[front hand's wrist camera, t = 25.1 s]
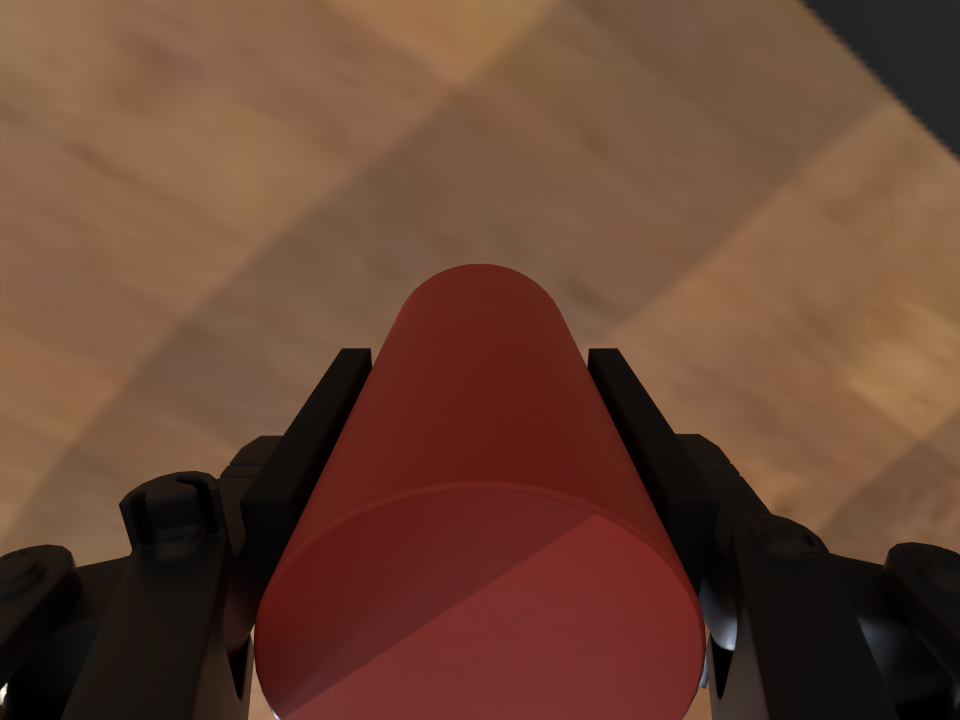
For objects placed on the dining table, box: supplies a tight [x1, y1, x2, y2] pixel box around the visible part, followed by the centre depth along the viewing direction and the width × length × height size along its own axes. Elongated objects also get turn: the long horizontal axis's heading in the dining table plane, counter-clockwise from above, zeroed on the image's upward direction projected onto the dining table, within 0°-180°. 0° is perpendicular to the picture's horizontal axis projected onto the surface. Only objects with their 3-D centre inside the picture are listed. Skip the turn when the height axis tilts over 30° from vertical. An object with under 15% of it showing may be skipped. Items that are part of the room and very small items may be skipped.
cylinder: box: [254, 264, 706, 720], centre depth 12 cm, size 6×6×12 cm
